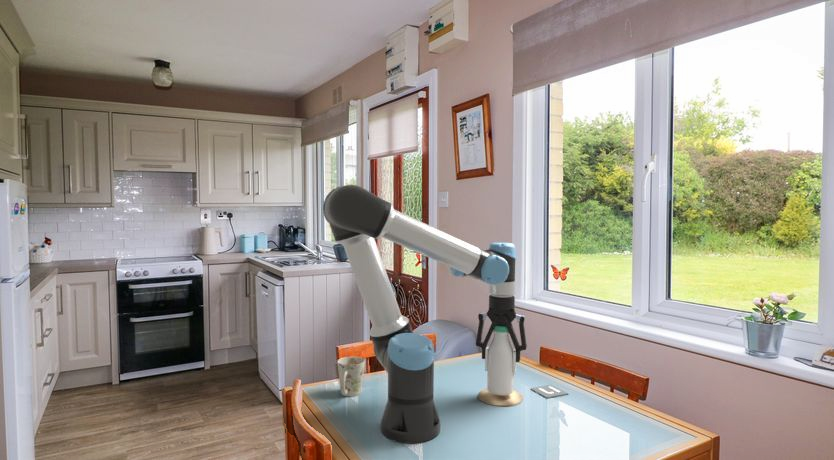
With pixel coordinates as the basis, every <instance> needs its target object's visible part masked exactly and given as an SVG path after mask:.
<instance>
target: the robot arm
mask: <svg viewBox="0 0 834 460" xmlns="http://www.w3.org/2000/svg"><path fill="white" fill-rule="evenodd" d="M322 212H323V216H324V218H325V220H326V222H327V223H328V225H329V228H330V230H331V233H332V236H333V237H334V241H335V243H337V244H339V245H342V246H343V249H344V251H345V254H346V257H347V261H348V263H349V265H350V268H351V271H352V274H353V277H354V280H355V281H356V284H357V288H358V290H359V293H360V295H361V298H362V301H363V304H364V306H365V307H364V308H365V310H366V312H367V315H368V317H369V320H370V323H371V325H372V326H371V328H370V330H369V336H370V338H371V342H372V344H373V353H374V355H375V358H376V360H377V361H378V363H379V364H380V365H381V366H382V367H383V369H384V370H385V371H386V374H387V401H386V405H385V407H384V410H383V413H382V415H381V418H380V419H381V420H380V431H381V434H382V435H383V436H384V437H385V438H387V439H389V440H390V441H392V442H393V441H394V442H397V443H405V444H417V443H422V442H428V441H430V440H432V439H434V438H436V437H438V435H439V433H441V432H440V431H441V419H440V416H439V413H438V410H437V407H436V404H435V399H434V391H435V389H434V387H435V386H434V385H435V384H434V383H435V381H434V379H435V377H434V376H435V370H434V369H435V356H436V355H435V348H434V343H433V341H432V340H431V339H430V338H429V337H427V336H426V335H424V334H423V335H421V334H420V333H414V331H413V327H412V325H411V322H410V319H409V318H408V317H407V316H404V315H402V313H401V309H400V307H399V304H398V300H397V299H396V296H395V293H394V290H393V287H392V285H391V282H390V279H389V276H388V274H387V270H386V267H385V265H384V262H383V258H382V256H381V253H380V251H379V247H378V245H377V242H376V240H377V239H380V238H383V239H385V240H388V241H390V242H391V243H394V244H396V245H399V246H402V247H404V248H406V249H409V250H410V251H413V252H416V253H418V254H420V255H423V256H425V257H427V258H428V259H431V260H434V261H436V262H438V263H441V264H442V265H445V266H448V267H449V268H450V272H451V274H452V275H453V276H454V277H461V278H464V277H469V278H472V279H475V280H479V281H480V282H483V283H486V284H488V293H489V296H488V310H487V311H485V312H482V311H480V312H479V313H478V317H477V318H478V328H477V335H476V339H475V340H476V341H475V346H476V347H480V348H481V359H482V360H484V365H485V366H484V371H485V372H488V351H489V347H490V346H488V344H489V341H490V339H491V336H492V334H493V333H494V332H493V331H494V327H495V326H506V327H507V329H508V331H509V333H508V335H509V337H510V339H511V342H512V344H513V346H514V349H513V374H514V375H516V373H517V363H520V361H521V352H522V351H526V350H527V347H528V345H527V344H528V343H527V337H526V330H525V329H526V328H525V319H526V316H525V315H524V314H522V315H520V314H517V313H516V310H515V304H516V303H515V302H516V300H515V299H516V297H515V293H516V260H517V258H516V255H517V254H516V246H515V244H513V243H511V242H492V243H490V244H489V247H488V249H481V248H479V247H477V246H476V245H473V244H471V243H468V242H466V241H465V240H462V239H459V238H458V237H456V236H453V235H451V234H449V233H447V232H444V231H442V230H440V229H438V228H436V227H433V226H431V225H429V224H427V223H425V222H423V221H420V220H419V219H417V218H414V217H411V216H410V215H407V214H405V213H404V212H403V213H402V212H401V211H398V210H397V209H395V208H394V205H393V203H392V202H389V201H387V200H385V199H383V198H381V197H379V196H377V195H376V194H374V193H372V192H371V191H369V190H367V189H366V188H365V187H364V188H363V186H360V185H356V184H346V185H342V186H337V187H335V188H333V189H332V190H331V191H329V192H328V194H327V195H326V197H325V198H324V201H323V205H322ZM487 317H488V318H489V320H490V321H491V324H490V326H489V329H488V331H487V333H486V334H485V335H486V336H485V338H484V340H483V342H482V339H483V338H482V337H483V332H484V325H485V320H486V319H487ZM515 319H516V322H517V323H518V326H519V327H518V328H519V335H520V342H519V340H518V338H517V335H516V332H515V329H514V327H513V326H514V325H513V324H512V322H513V321H514V320H515ZM520 343H521V345H520Z"/></svg>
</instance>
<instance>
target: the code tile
mask: <svg viewBox="0 0 834 460" xmlns="http://www.w3.org/2000/svg"><path fill="white" fill-rule="evenodd" d="M530 391H533V392H534V391H535V392H534V393H536V392H537V393H536V394H538V395H540V396H541V395H542V397H543V396H544V397H543V398H545V397H546V398H545V399H547V398H548V399H551V398H552V397H553V398H558V397H563V396H568V395H569V393H568V392H566V391H565V390H562V389H561V388H559V387H557V386H555V385H553V384H548V385H542V386H541V385H540V386H535V387H530Z"/></svg>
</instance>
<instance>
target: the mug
mask: <svg viewBox="0 0 834 460" xmlns="http://www.w3.org/2000/svg"><path fill="white" fill-rule="evenodd" d="M365 364H366V360H365V358H363V357H360V356H345V357H340V358H339V359H337V363H336V365H337V372H338V379H339V387H340V394H341V395H342V396H343V397H349V398H350V397H356V396H359V395H360V394H362V388H363V379H364V372H365V366H366V365H365Z"/></svg>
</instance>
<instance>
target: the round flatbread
mask: <svg viewBox="0 0 834 460" xmlns="http://www.w3.org/2000/svg"><path fill="white" fill-rule="evenodd" d="M477 397H478V399H479V401H481V403H484V404H487V405H490V406H494V407H513V406H518V405H519V404H521V403H522V401H523V399H524V398H523V395H522V394H521V393H520V392H518V391H516V390H514V389H513V392H512V393H511V394H509V395H495V394H492V393H490V392H489V391H488V389H487V388H483V389H482V390H480V391H479V392H478V396H477ZM517 404H518V405H517Z"/></svg>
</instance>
